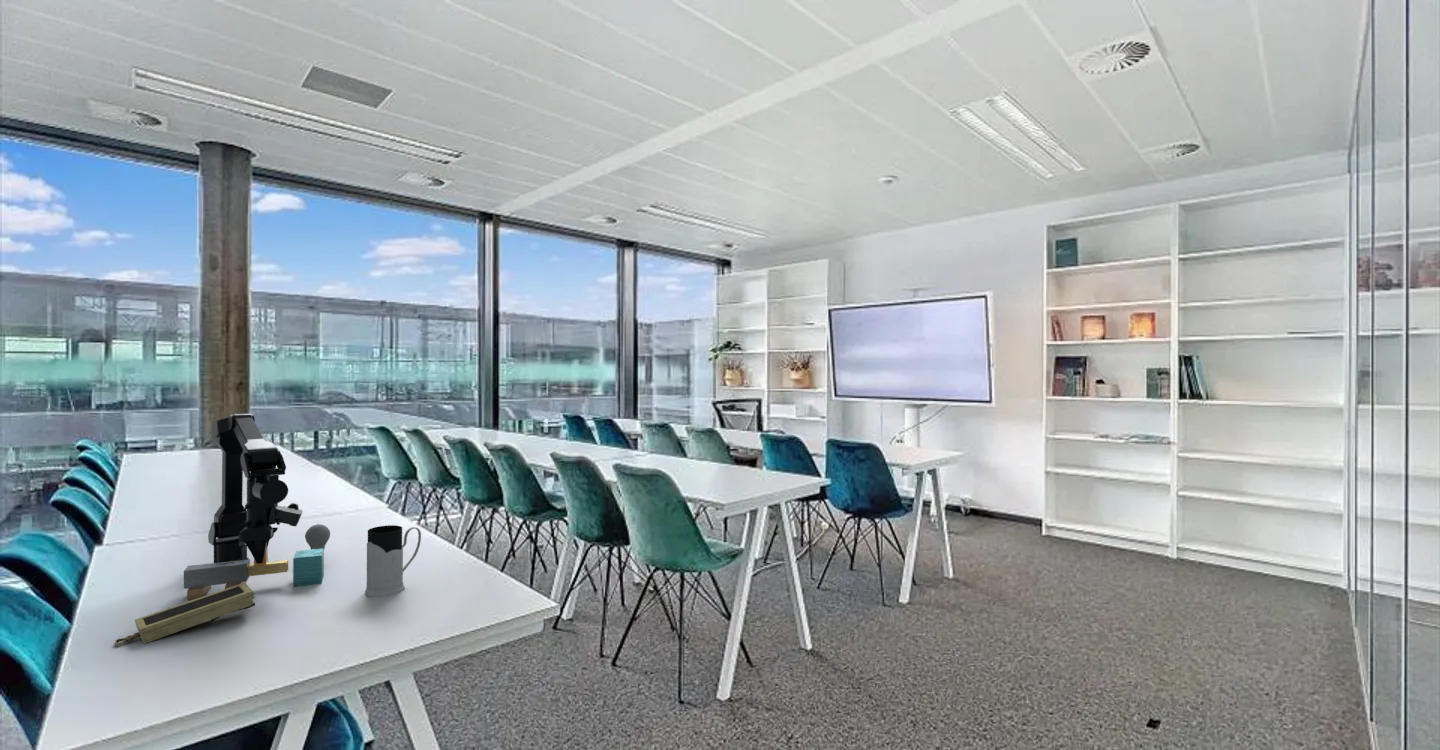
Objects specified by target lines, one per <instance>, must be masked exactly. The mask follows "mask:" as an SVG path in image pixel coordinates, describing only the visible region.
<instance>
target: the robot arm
mask: <svg viewBox="0 0 1440 750" xmlns="http://www.w3.org/2000/svg"><path fill="white" fill-rule="evenodd" d="M211 433H212V437H213V438H214V442H215V444H216V445H217V446H218V448H219V449H220V450H221V452H222V453H221V455H222V460H221V465H222V466H221V505H220V506H219V507H218V508H217V510H216V512H215V513H214V515H213V522H212V523H211V524H210V528H209V530H208V534H207V537H208V543H209V544H210V545H212V546H213V563H220V562H229V561H239V560H248V559H250V558H249V557H248V550H249V552H250V555H251V556H252V557H253V560H254V559H255V561H256V562H257V564H260V563H263V559H264V554H265V549H266V546H268V547H269V543H270V540H271V539H272V538H274V536H275V533H276V532H277V531H278V529H279V527H272V525H276V526H280V525H281V524H284V525H289V526H290V527H297V526H298V523H299V521H300V519H301V516H302V514H303V509H300V507H299V504H298V503H296V502H291V503H289V505H287V506H286V505H283V506H282V505H279V503H280V502H283V501H284V500H285V499H286V498H287V496H288V493H289V488H288V485H287V484H286V482H284V481H283V480H280V478H279V477H280V476H282V475H283V476H285V475H286V469H287V465H286V462H285V459H284V457H283V454H281V451H280V450H278V448H277V447H276V445H275V444H274V443H273V442H270V441H268V440H265V438H264V436H263V435H262V433H261V432H260V430H259V428H258V425H257V424H256V421H255V416H254V414H253V413H252V414H251V413H235V414H231V415H229V416H228V417H225V418H221V419H218V420H216V421H215V422H214V423H213V424H212V430H211ZM243 474H244V475H243ZM243 477H245V478H246V503H245V505H244V506H243V489H244V488H243V487H244V486H243V482H244V481H243Z"/></svg>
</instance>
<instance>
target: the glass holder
mask: <svg viewBox="0 0 1440 750" xmlns="http://www.w3.org/2000/svg"><path fill="white" fill-rule="evenodd" d="M412 530H417V533H418V538H417V540H418V541H417V544H416V548H415V550H414V553H413V554H412V556H411V558H410V559H409V561H407V563H406V564H405V565H403V564H404V547H406V545H407V541H408V534H409V533H410V532H411V531H412ZM421 534H422V533H421V530H420V529H419V528H418V527H414V526H413V527H410V528H408V529H407V530H406V532H405V534H404V537H403V527H402V526H401V525H396V524H395V525H393V524H392V525H390V524H389V525H381V526H375V527H371V528H369V529H368V530H367V543H366V586H365V587H366V589H365V590H364V595H365V596H366V597H367V596H368V597H372V598H373V597H375V598H377V597H378V598H380V597H387V596H393V595H396V594H400V593H401V592H404V590H405V589H406V588H405V587H406V586H405V585H404V572H405V571H406V570H407V568H408V567H409V565H410V564H411V563H412V562H413V560H415V558H416V556H417V554H418V552H419V549H420V546H421V542H422V535H421Z"/></svg>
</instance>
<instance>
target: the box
mask: <svg viewBox="0 0 1440 750" xmlns="http://www.w3.org/2000/svg"><path fill="white" fill-rule="evenodd" d="M254 595H255V593H254V591H253V589H251V587H249V585H247V583H246V584H244V583H242V584H239V585H236V586H233V587H230V588H227V589H225V588H224V589H222V590H219V591H216V592H212V593H210V594H207V595H206V596H203V597H200V598H197V599H194V600H191V601H186V602H183V603H179V604H176V605H173V606H171V607H167V608H165V609H161V610H159V611H157V612H153V613H151V614H150V613H149V614H147V615H144V616H141V617H138V618H135V619H134V622H135V626H136V629H137V632H135V633H133V634H132V635H127V636H126V637H121V638H117V639H115V641H114V644H115V647H117V648H118V647H122V646H123V645H124V644H126V643H132V642H133V641H135V640H137V639H140V640H141V641H142V643H143V644H147V643H150V642H153V641H157V640H159V639H161V638H164V637H166V636H170V635H172V634H175V633H178V632H182V631H184V630H187V629H188V628H192V627H195V626H198V625H200V624H203V623H205V622H208V621H209V622H208V623H209V625H210V624H212V623H214V622H215V621H217V620H219V619H220V618H222V617H224V616H226V615H229V614H233V613H236V612H237V613H238V612H240V611H244V610H247V609H251V608H252V607H253V608H254V607H255V606H256V605H257V604H256V602H255V601H254V599H255V596H254Z"/></svg>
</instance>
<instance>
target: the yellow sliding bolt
mask: <svg viewBox="0 0 1440 750" xmlns="http://www.w3.org/2000/svg"><path fill="white" fill-rule="evenodd" d="M268 548H269V545H268V546H266V549H265V554H264V559H263V563H260V564H257V562H256V561H255V559H254V558H253V563H250V564H248V565H247V577H248V576H250V577H255V576H264V575H272V574H279V573H280V574H281V573H287V572H288V570H289V559H282V560H273V561H269V559H268V557H269V551H268V550H269V549H268Z"/></svg>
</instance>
